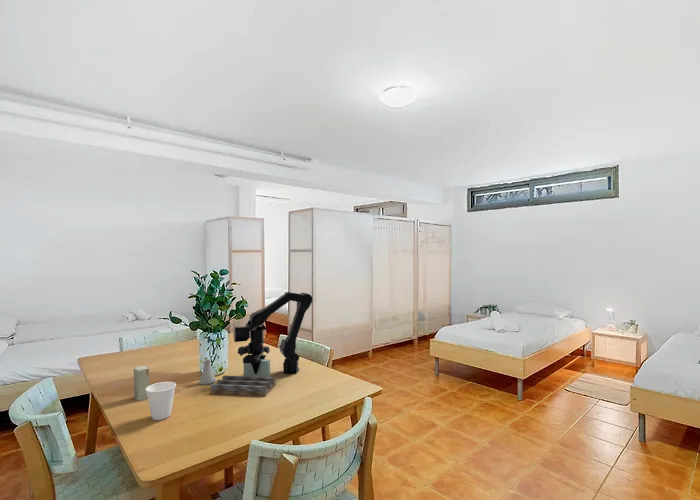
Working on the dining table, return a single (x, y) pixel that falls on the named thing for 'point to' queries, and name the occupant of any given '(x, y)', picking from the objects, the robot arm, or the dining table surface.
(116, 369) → the dining table surface
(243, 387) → the track base
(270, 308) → the robot arm
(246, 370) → the door panel
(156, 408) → the cup
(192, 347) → the dining table surface
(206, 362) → the flask
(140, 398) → the skincare box
